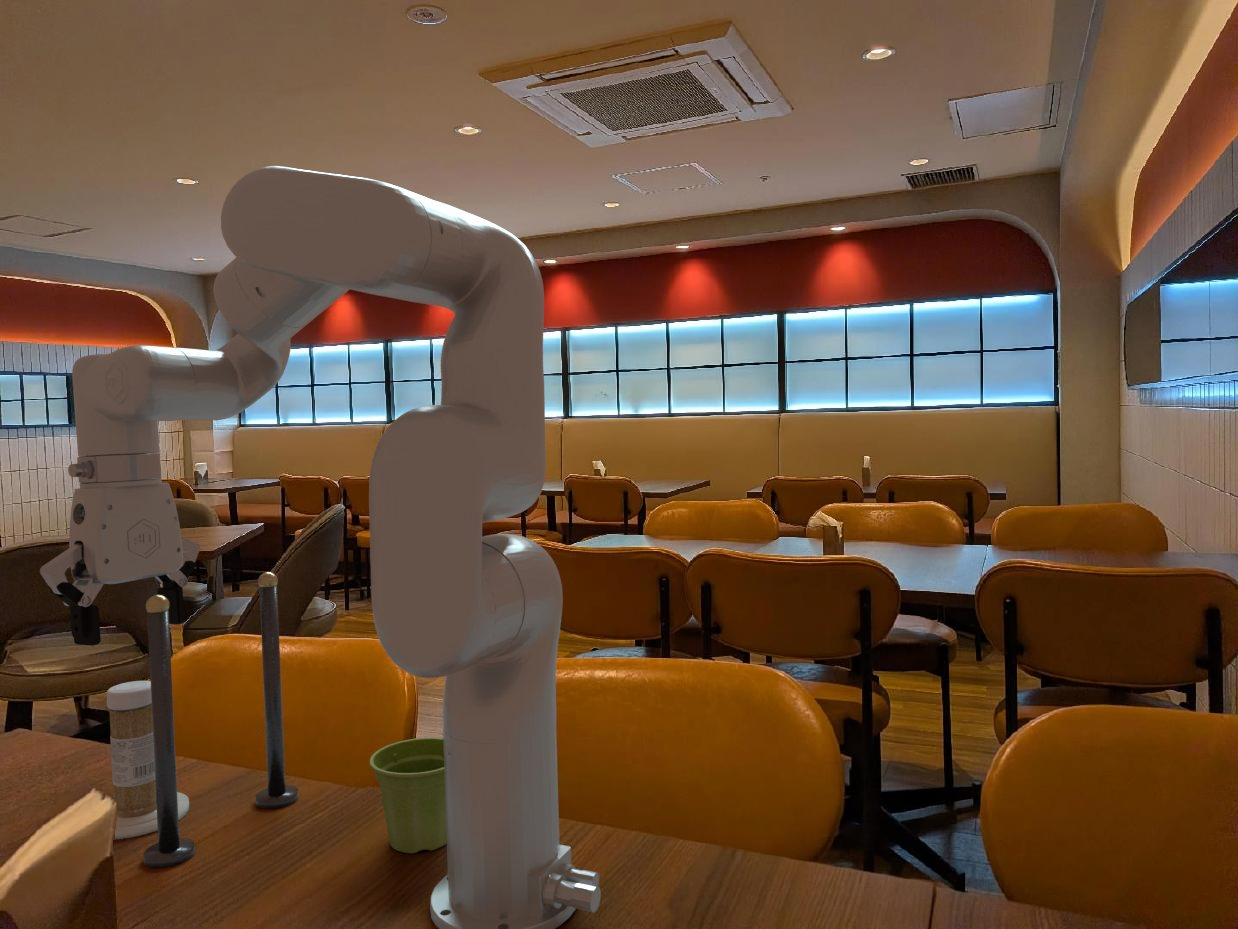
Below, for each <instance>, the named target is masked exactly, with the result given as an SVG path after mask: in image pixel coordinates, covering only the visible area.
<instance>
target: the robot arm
mask: <svg viewBox="0 0 1238 929" xmlns="http://www.w3.org/2000/svg"><path fill="white" fill-rule="evenodd" d="M223 202H224V203H223V204H222V207H221V208H222V209H221V213H220V227H221V228H220V229H221V234H222V238H223V240H224V242H225V244H226V246H227V248H228V250H230V251H231V253H232V254H233V256H234V258H233V259H232V261H230V262H229V263H228V264H227V265H226V266H224V267H223V268H222V269H221V270H220V271H219V273H218V274H217V275H216V277H215V279H214V283H213V288H212V289H213V290H212V291H213V296H214V300H215V303H216V306H217V309H218V310H219V312H220V314H221V315H222V317H223V318H224V320H225V321H226V323H228V325H229V326H230V327H231V328H232V329H233V330H234V332H236V335H234V336H233V337H232V338H231V339H229V340H228V341H227V342H226V343H225V344H224V345H223V346H221V347H219V348H217V349H216V350H210V349H199V348H185V347H178V346H177V347H175V346H161V345H149V344H147V345H146V344H136V345H127V346H124V347H121V348H117V349H116V350H115V351H111V352H110V353H96V354H95V353H94V354H90V355H89V354H88V355H84V356H81V357H79V358H78V359H76V360H75V361H74V362H73V365H72V374H71V377H72V389H73V390H72V391H73V405H74V420H75V434H76V443H77V444H76V446H77V456H78V457H76V458H77V460H76V461H77V462H76V463H71V464H69V465H68V470H67V471H68V474H69V476H70V477H71V478H78V483H79V488H74V492H73V496H72V502H71V510H70V518H69V519H70V520H69V532H68V533H69V538H68V539H69V543H68V544H69V546H68V548H67V549H66V550H64V551H63V552H62V553H60V554H59V555H57V556H55V557H54V558H52V559H51V560H50V561H48V562H46V563H45V564H44V565H42V566H41V567H40V569H39V573H40V575H41V576H42V578H43V580H44V581H45V583H46V584H47V586H49V587H50V588H49V590H50V593H51V594H53V595H54V596H56V597H57V598H58V599H60V600H61V601H62V603H63V605H64V606H65V607H69V613H70V614H69V615H70V629H71V637H73V642H74V644H75V645H78V646H79V645H80V646H97V645H99V644H100V643H101V641H102V639H101V627H100V626H101V625H100V611H99V610H100V609H99V606H98V604H93V602H94V600H95V599H96V598H97V595H98V594H99V592H100V591H101V589H102V587H103V586H104V585H105V584H107V585H114V584H115V585H116V584H121V583H122V584H123V583H127V582H133V581H138V580H143V579H144V580H145V579H150V578H155V579H156V580H157V581H158V582H159V583H160V584H161V585H162V586H160V587H158V588H157V591H156V592H157V593H156V595H163V596H165V597H166V598H167V599H168V601H169V609H168V610H169V625H180V624H181V625H182V624H184V623H185V613H184V612H185V604H184V592H183V588H185V587H186V586H187V585H188V584H189V583H188V582H189V580H188V579H189V577H190V575H191V574H192V573H193V571H194V570H195V568H196V564H195V562H197V559H198V555H199V553H200V550H201V546H200V544H199V543H197V542H194V541H192V540H189V539H188V538H185V537H183V536H182V532H181V525H180V521H179V520H180V519H179V515H178V510H177V505H176V501H175V498H174V495H173V492H172V488H171V486H170V483H169V482H163V481H162V466H161V453H160V452H161V451H160V450H161V448H160V437H159V436H160V435H159V422H174V421H204V422H205V421H221V420H226V419H228V418H232V417H235V416H237V415H239V414H240V413H242V412H244V411H245V410H247V409H248V408H249V407H251V406H252V405H254V404H255V403H256V402H257V401H259V400H260V399H261V398H262V397H264V396H265V395H266V394H267V393H268V392H270V391H271V390H272V389H273V388H274V387H275V386H276V385H277V384H278V383H279V381H280V380H281V379H282V377H283V375H284V372H285V370H286V367H287V364H288V362H289V357H290V354H291V346H292V345H291V339H292V337H294V336H295V335H296V334H298V332H300V331H301V330H302V329H304V327H306V326H307V325H308V324H309V323H311V322H312V321H313V320H314V319H315V318H317V317H318V316H320V314H322V313H323V312H324V311H325V310H327V309H328V308H329V307H330V306H331V305H333V304H334V303H336V301H337V300H339V299H340V298H341V297H343V296H344V295H345V294H346V293H347V292H348V291H350V290H352V291H355V292H360V293H361V292H362V293H365V294H370V295H374V296H380V297H386V298H391V299H394V300H395V299H396V300H401V301H407V302H412V303H415V304H416V303H418V304H425V305H429V306H430V305H431V306H435V307H440V308H444V309H446V310H447V309H448V310H450V311H451V312H453V313H454V316H453V317H452V320H451V321H450V324H449V326H448V329H447V331H446V333H445V337H444V340H443V343H442V347H441V354H440V355H441V356H440V378H441V380H440V381H441V388H440V389H441V391H440V392H441V393H440V397H441V398H440V399H441V400H440V404H432V405H431V404H429V405H424V406H418V407H416V408H413V409H409V410H408V411H406V412H405V413H402V414H400V415H399V416H398V417H397V418H395V419H394V420H393V421H392V423H390V425H388V426H387V428H386V429H385V430H384V432H383V434H382V435H381V437H380V439H379V440H378V442H377V445H376V447H375V451H374V453H373V457H372V460H371V464H370V469H369V479H368V508H369V509H368V512H369V513H368V514H369V516H368V517H369V518H368V519H369V545H370V547H369V548H370V549H369V552H370V554H369V556H370V559H369V560H370V588H371V591H370V592H371V608H372V615H373V622H374V627H375V631H376V633H377V636H378V641H379V642H380V644H381V646H382V648H383V650H384V651H385V653H386V654H387V656H388V658H390V660H391V661H392V662H393V663H394V664H395V665H396V666H397V667H398V668H400V669H401V670H402V671H404V672H406V673H408V674H409V675H412V676H415V677H419V678H425V679H426V678H427V679H434V678H442V677H445V680H444V688H443V695H442V696H443V699H442V726H443V727H442V736H443V737H442V738H443V745H444V774H445V803H446V833H447V843H446V853H447V854H446V856H447V857H446V860H447V874H446V875H445V876H444V877H443V878H442V879H441V880H440V881H438V882H437V884H436V885H435V887H433V890H432V892H431V895H430V898H429V899H430V900H429V905H430V906H429V911H430V916H431V917H430V918H431V920H432V922H433V923H434V926H436V927H437V928H438V929H556V928H559V927H560V926H561V925H562V924H564V922H566V921H567V920H568V919H570V917H571V916H572V915H573V913H574V912H575V911H576V909H577V910H580V911H585V912H589V913H596V912H597V911H598V908H599V907H600V902H601V895H602V894H601V888H600V887H599V883H600V874H599V873H598V872H597V871H592V870H588V869H587V870H586V869H578V868H576V867H575V865H573V864H572V848H571V846H569V845H563V844H560V820H559V819H560V817H559V815H560V814H559V813H560V812H559V786H558V785H559V784H558V783H559V778H558V777H559V776H558V747H557V746H558V745H557V742H558V741H557V740H558V738H557V696H556V695H557V684H556V683H557V656H558V648H559V638H560V631H561V625H562V624H561V623H562V616H563V603H564V602H563V599H564V598H563V596H564V595H563V585H562V580H561V576H560V572H559V570H558V567H557V564H556V563H555V561H554V560H553V558H552V556H551V555H550V554H549V553H548V551H546V550H545V548H543V547H542V545H540V544H539V543H537V542H535V541H534V540H532V539H530V538H527V537H525V536H522V535H519V534H510V533H496V534H489V535H484V536H483V524H484V523H491V522H495V521H499V520H503V519H507V518H510V517H513V516H515V515H518V514H521V513H523V512H524V511H526V510H528V509H529V508H530V507H532V506H533V505H534V504H535V503H536V502H537V501H538V499H539V497H540V496H541V494H542V490H543V487H544V484H545V481H546V480H545V479H546V421H545V420H546V417H545V416H546V415H545V414H546V411H545V408H546V406H545V403H546V402H545V375H544V325H545V324H544V322H545V291H544V290H545V289H544V282H543V278H542V273H541V271H540V268H539V265H538V263H537V261H536V259H535V258H534V255H533V254H532V252H531V251H530V250H529V248H528V247H527V246H526V245H525V243H524V242H522V240H520V239H519V238H518V237H517V236H515V235H514V234H513V233H511V232H510V231H508V230H506V229H505V228H503V227H501V226H499V225H497V224H495V223H493V222H492V221H489V220H487V219H485V218H482V217H480V216H477V215H475V214H473V213H470V212H467V211H465V210H462V209H460V208H457V207H455V206H452V205H450V204H447V203H444V202H441V201H439V200H438V201H437V200H435V199H432V198H429V197H426V196H424V195H421V194H418V193H416V192H413V191H410V190H409V189H406V188H403V187H400V186H397V185H393V184H391V183H387V182H385V181H380V180H376V179H372V178H366V177H360V176H359V177H358V176H351V175H343V174H337V173H336V174H335V173H330V172H329V173H328V172H322V171H314V170H306V169H301V168H299V169H298V168H294V167H289V166H282V165H281V166H280V165H271V166H263V167H262V166H261V167H259V168H257V169H253V170H252V171H251V172H248V173H246V174H245V175H243V176H242V177H241V178H240V179H238V180H237V181H236V183H235V184H233V186H232V187H230V190H229V192H228V193H227V195H226V197H225V200H224V201H223ZM69 568H70V572H71V576H72V578H73V580H74V581H73V583H70V582H69V580H68V579H67V576H66V575H65V574H66V571H67V570H68V569H69Z"/></svg>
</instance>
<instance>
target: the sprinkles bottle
mask: <svg viewBox="0 0 1238 929" xmlns="http://www.w3.org/2000/svg"><path fill="white" fill-rule="evenodd" d="M106 706H107V708H108V710H107V711H108V712H109V728H110V736H109V738H110V755H111V756H110V759H111V777H112V778H111V779H112V785H113V786H112V787H113V800H114V799H115V801H116V802H117V815H118V816H121V817H132V816H138V815H143V814H146V813H148V812H150V811H152V810H154V809H156V808H157V804H156V783H155V762H154V741H153V721H152V700H151V680H136V681H135V680H133V681H128V682H123V683H120V684H117V685H114V686H111V687H110V688H109V689H108V690H107V691H106Z"/></svg>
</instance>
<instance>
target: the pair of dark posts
mask: <svg viewBox="0 0 1238 929" xmlns="http://www.w3.org/2000/svg"><path fill="white" fill-rule="evenodd" d="M257 582H258V586H259V588H258V589H259V606H260V607H259V608H260V609H259V610H260V631H261V632H260V634H261V635H260V637H261V652H262V653H261V656H262V658H261V659H262V677H263V678H262V680H263V699H264V700H263V701H264V702H263V703H264V705H263V707H264V725H265V726H264V727H265V752H266V775H267V776H266V777H267V788H264V789H262V790H260V791H259V792H257V793H256V794H255V805H256V807H257V808H259V809H263V810H265V809H267V810H271V809H280V808H283V807H286V806H289V805H292V804H293V803H295V802H296V801H297V800H298V799H299V789H298V787H296V786H295V785H290V784H286V770H285V767H286V766H285V747H284V743H285V742H284V723H283V722H284V721H283V719H284V718H283V697H282V678H281V677H282V676H281V670H282V669H281V650H280V626H279V625H280V622H279V605H278V604H279V600H278V582H279V580H278V576H277V574H275V573H274V572H271V571H265V572H263V573H262V574H260V575H259V577H258V581H257ZM145 609H146V614H147V615H146V616H147V635H148V637H147V638H148V654H149V655H148V656H149V657H148V658H149V673H150V674H149V675H150V677H149V678H150V681H151V700H152V721H153V741H154V762H155V783H156V804H157V825H158V830H157V841H158V842H156V843H154V844H152V845H150V846H149V847H148V848H146V849H145V850H144V852H143V854H142V855H143V865H144V866H145V867H147V868H150V869H163V868H169V867H174V866H177V865H180V864H182V863H185V862H187V861H188V860H189V859H191V858H192V857H193V856H194V855H195V854H196V852H195V851H196V848H195V846H196V844H195V843H196V842H195V841H194V840H193V839H192V838H188V837H180V827H179V825H180V824H179V820H178V800H177V792H178V782H177V781H178V779H177V762H176V760H177V759H176V744H175V743H176V740H175V738H176V737H175V718H174V698H173V695H174V694H173V679H172V678H173V677H172V676H173V675H172V656H171V655H172V652H171V634H170V624H169V610H168V609H169V601H168V599H167V598H166V597H165V596H163V595H158V594H155V595H153V596H151V597H149V598H148V599H147V600H146V603H145Z"/></svg>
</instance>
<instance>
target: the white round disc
mask: <svg viewBox="0 0 1238 929" xmlns="http://www.w3.org/2000/svg"><path fill="white" fill-rule="evenodd" d="M177 800H178V821H180V820H182V819H183V818H184V817H185V816H186V815H187V814H188V813H189V811H190V798H189V797H188V796H187V795H186V794H184V793H182V792H179V791H177ZM154 832H158V825H157V808H156V809H154V810H152V811H150V812H148V813H146V814H143V815H138V816H132V817H121V816H118V815H117V822H116V830H115V839H114V840H123V839H124V838H125V839H131V838H136V837H140V836H144V835H147V834H151V833H154Z"/></svg>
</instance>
